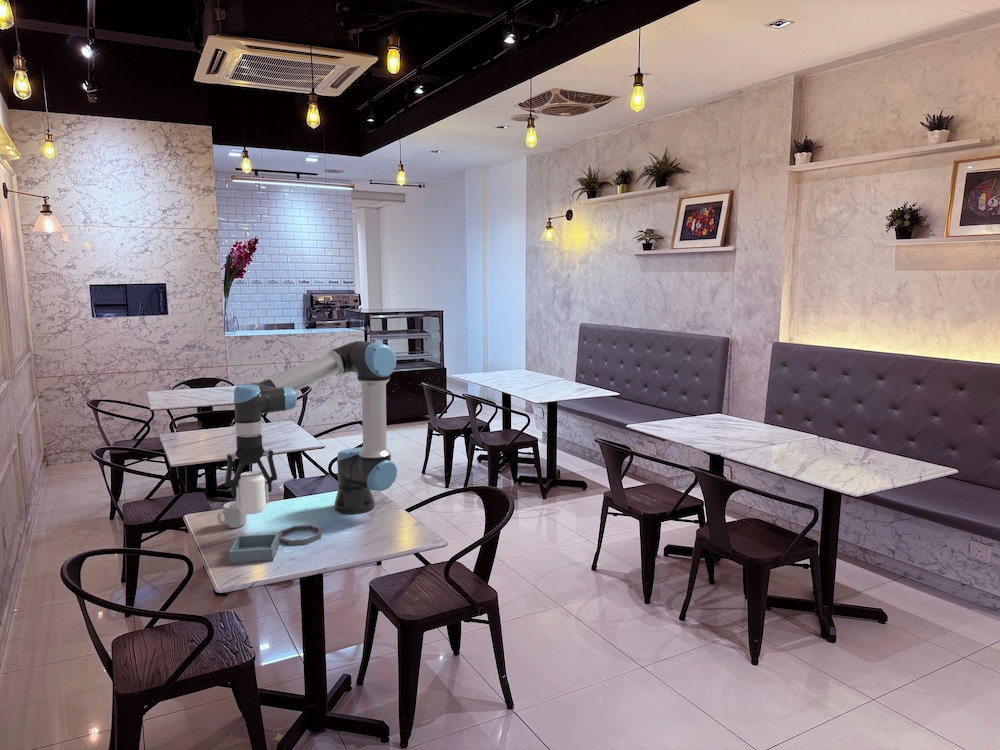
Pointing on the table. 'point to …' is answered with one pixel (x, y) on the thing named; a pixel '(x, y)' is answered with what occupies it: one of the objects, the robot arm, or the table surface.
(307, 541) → the collar
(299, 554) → the table surface
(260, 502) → the beverage can
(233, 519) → the cup
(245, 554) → the bin
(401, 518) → the table surface
